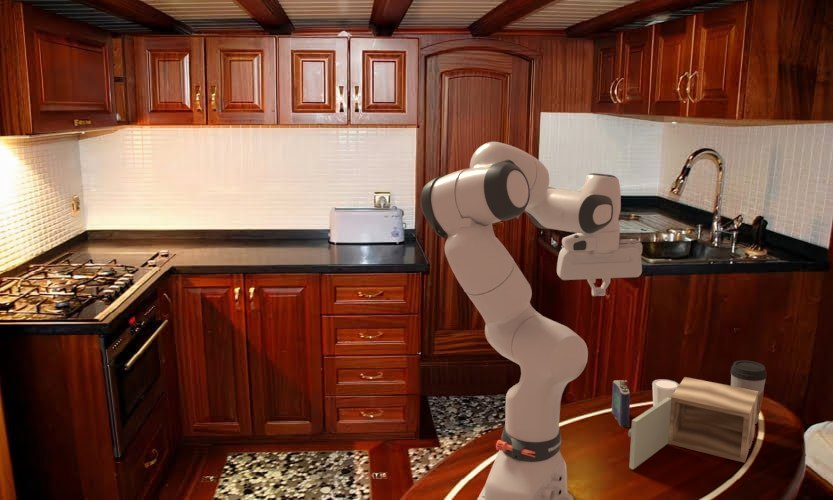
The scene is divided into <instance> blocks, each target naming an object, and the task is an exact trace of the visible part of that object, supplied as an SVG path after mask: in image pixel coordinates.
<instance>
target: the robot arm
mask: <svg viewBox="0 0 833 500" xmlns="http://www.w3.org/2000/svg"><path fill="white" fill-rule="evenodd" d="M469 162H470V163H469V168H468V167H467V168H463V169H460V170H457V171H454V172H451V173H449V174H445V175H439V176H437V177H435V178H433V179H432V180H430V181H429V182H427V183H426V184H425V185H424V186H423V188H422V190H421V193H420V208H421V212H422V214H423V216H424V217H425V218H424V219H426V222H427V223H428V224H429V226H430V227H431V228H432V229H433V230H434V232H435V234H437V236H439V237H441V238H443V239H446V241H445V243H444V254H445V258H446V259H447V260H446V261H447V262H448V264H449V266H450V269H451V271H452V272H453V275H454V276H455V279H456V280H457V282H458V283H459V285H460V287H461V288H462V289H463V291H464V293H465V294H466V295H467V296H468V298H469V300H470V301H471V302H472V303H473V306H475V308H476V309H477V311H478V312H479V314H480V315H481V317H482V318H483V320H484V323H485V326H484V335H485V336H484V337H485V339H486V340H487V342H488V343H489V344H490V346H491V347H492V348H493V349H495V351H496V352H497V353H499V355H501V356H502V357H504V358H506V359H508V360H510V361H511V362H513V363H515V364H517V365H519V367H520V373H521V374H520V378H519V382H518V383H515V385H513V386H512V387H510V388H509V389H508V390H507V393H506V396H505V416H504V417H505V424H504V427H503V430H502V434H501V436H500V437H501V438H500V439H498V440H497V441H496V444H495V449H496V451H498V453H497V454H496V457H495V459H494V462H493V464H492V466H491V469H490V471H489V474H488V476H487V479H486V482H485V484H484V486H483V488H482V489H481V492H480V493H479V496H478V497H477V498H476V500H574V496H573V495H572V494H571V493H570V492H568V472H567V470H568V469H567V468H568V467H567V463H566V460H565V459H564V457H563V455H562V453H561V451H560V450H561V446H562V445H561V443H562V436H561V434H562V433H561V429H560V412H561V401H562V396H563V393H564V391H565V389H566V387H567V385H568V384H569V383H571V382H572V381H574V380H576V379H577V378H579V376H580V375H581V374H582V372H583V371H584V370H585V368H586V366H587V363H588V356H589V351H588V350H589V349H588V347H587V343H586V342H585V340H584V339H583V338H582V337H581V336H580V335H578V334H577V333H576V332H575V331H574V330H572V329H571V328H570V327H568V326H566V325H564V324H561V323H559V322H558V321H554V320H552V319H550V318H548V317H546V316H543V314H541V313H540V312H538V311H536V309H535V308H534V307H533V306H532V304H531V299H532V295H533V293H532V287H531V284H530V283H529V281H528V280H527V278H526V277H525V275H524V274H523V272H522V271H521V269H520V268H519V265H517V262H515V260H514V258H513V256H512V255H511V254H510V252H509V251H508V250H507V249H506V247H505V246H504V244H503V243H502V242H501V241H500V240H499V238H498V237H496V235H495V232H494V228H493V224H496V223H500V222H501V221H502V222H506V221H509V220H512V219H514V218H518V217H519V216H521V215H522V214H523V213H525V214H526V216H527V217H528V218H529V220H530V221H531V223H533V225H534V226H536V227H537V228H539V229H544V230H545V229H546V230H557V231H561V232H562V231H563V232H569V233H573V234H570V235H567V236H565V237H562V239H561V244H562V246H563V247H562V248H561V249H560V251H559V253H558V258H557V263H556V273H557V276H558V277H559V279H561V280H562V281H570V280H573V281H575V280H587V281H586V282H587V283H588V285H589V286H590V288H591V296H592V297H597V296H598V297H600V296H601V297H602V296H603V297H604V296H606V290H607V289H608V287H609V285H610V284H611V279H619V278H620V279H622V278H638V277H641V274H642V272H643V267H642V266H643V265H642V254H643V244H642V242H641V241H640V240H637V239H636V238H630V239H625V238H624V239H622V238H620V229H621V226H620V221H619V217H620V214H621V209H622V208H621V207H622V205H621V204H622V203H621V202H622V201H621V199H622V197H621V196H622V194H621V185H620V180H619V178H618V177H617V176H615V175H612V174H604V173H596V172H594V173H593V172H592V173H588V174H586V176H585V179H584V184H583V185H582V187H580V188H578V189H577V190H572V189H563V188H555V187H552V186H551V187H550V173H549V170H548V169H547V167H546V166H545V165H544V164H543V163H542V161H541V160H539V159H538V158H536V157H535V156H533V155H531V154H530V153H528V152H526V151H525V150H522V149H520V148H519V147H516V146H512V145H511V144H507V143H504V142H503V143H502V142H499V141H489V142H486V143H484V144H482V145H480V146H479V147H478V148H477V149H476V150H475V152H474V153H473V154H472V156H471V157H470V161H469ZM596 279H602V281H603V282H602V284H601V286H599V287H597V286H595V283H596V282H597V281H596Z"/></svg>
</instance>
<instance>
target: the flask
mask: <svg viewBox="0 0 833 500" xmlns="http://www.w3.org/2000/svg"><path fill="white" fill-rule="evenodd" d="M626 383H628V381H627V380H626V379H625V380H623V379H622V380H620V379H619V380H618V379H617V380H613V381H612V397H611V398H612V401H611V414H612V415H613V417H614V419H615V420H617V422H618V425H619V426H620V427H622V428H629V427H630V404H631V401H630V400H631V392H630V389H629V387H628V386H627V384H626Z"/></svg>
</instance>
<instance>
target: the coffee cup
mask: <svg viewBox="0 0 833 500" xmlns="http://www.w3.org/2000/svg"><path fill="white" fill-rule="evenodd" d="M729 373H730V375H731V376H730V377H731V378H730V386H734V387H739V388H744V389H749V390H754V391H759V393H758V403H757V413H756V423H755V424H757V423H758V422H759V417H760V413H761V409H762V403H763V397H764V393H765V389H764V388H765V383H766V379H767V377H768V375H767V374H768V373H767V370H766V367H765V365H764V364H762V363H760V362H756V361H752V360H746V359H745V360H736V361H734V362H733V363H732V365H731V366H730V371H729Z"/></svg>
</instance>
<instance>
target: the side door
mask: <svg viewBox="0 0 833 500" xmlns="http://www.w3.org/2000/svg"><path fill="white" fill-rule="evenodd" d="M670 412H671V398H669V397H667V398H665V399H664V400H662V401H661V402H659V403H658V404H656V405H655V406H653V405H652V406H651V407H650V408H648V409H647V410H645V411H644V412H642V413H641V414H639V415H638V416H636V417H635V418H633V419H632V420H631V428H629V430H628V433H627V435H628V437H629V438H630V447H629V448H630V451H629V464H628V465H629V466H628V467H629V468H628V469H631V470H634V469H636V468H637V467H639V466H640V465H641V464H642V463H644V462H645V461H647V460H648V459H650V458H651V457H652V456H654V454H656V453H657V452H659V450H661V449H663V448H664V447H665V446H667V445H669V444H668V440H669V426H670Z"/></svg>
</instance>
